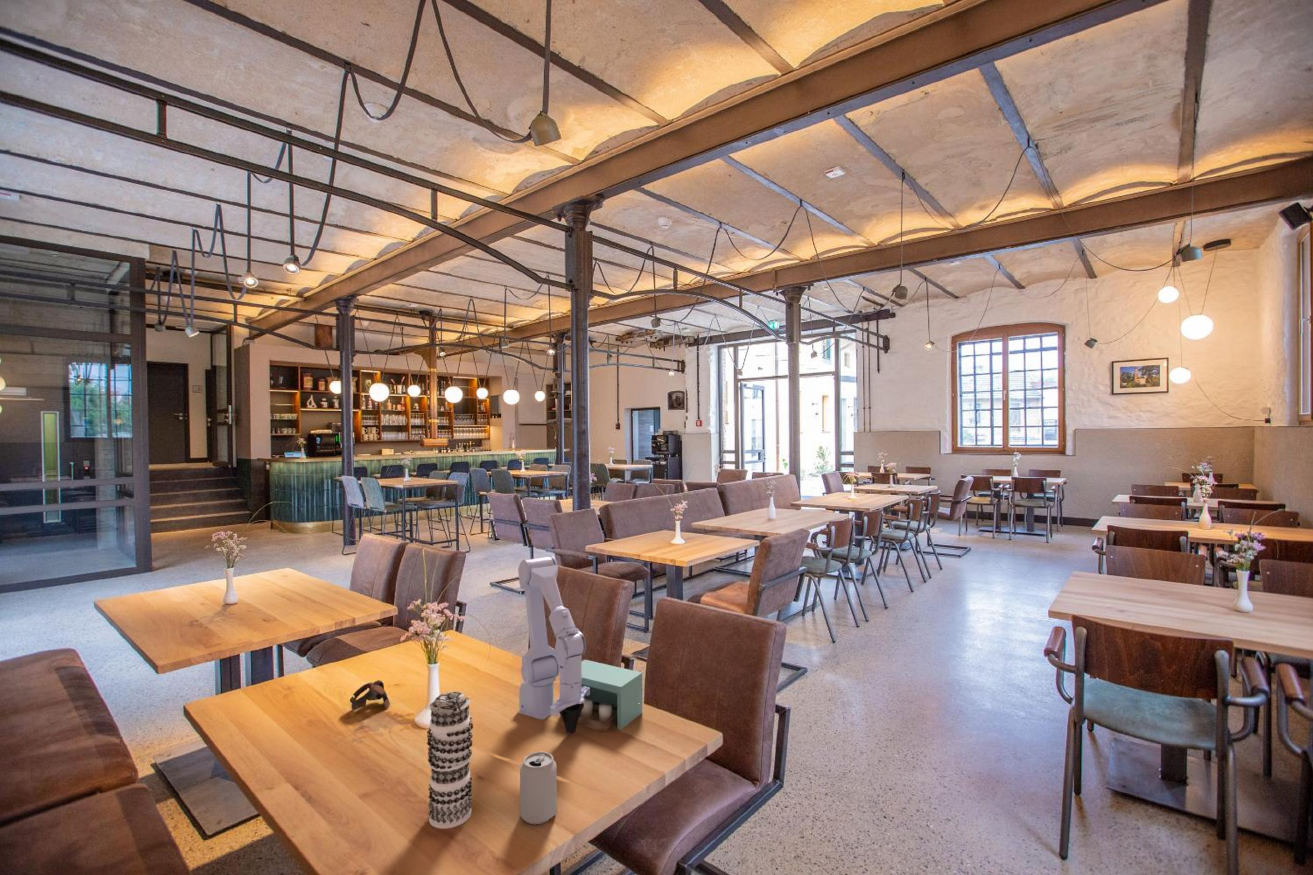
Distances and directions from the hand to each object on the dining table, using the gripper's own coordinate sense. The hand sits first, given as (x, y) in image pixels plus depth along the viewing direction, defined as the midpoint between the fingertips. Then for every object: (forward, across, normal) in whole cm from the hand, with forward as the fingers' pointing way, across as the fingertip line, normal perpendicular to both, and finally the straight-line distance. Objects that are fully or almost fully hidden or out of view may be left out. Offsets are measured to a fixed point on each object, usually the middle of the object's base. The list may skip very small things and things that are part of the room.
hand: (570, 731), depth 158 cm
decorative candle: (+2, -38, +2) cm, 38 cm away
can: (+2, -29, -14) cm, 32 cm away
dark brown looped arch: (+2, -14, +61) cm, 63 cm away
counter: (+1, +14, 0) cm, 14 cm away
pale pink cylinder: (+1, +11, -3) cm, 12 cm away
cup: (+1, +11, +3) cm, 12 cm away
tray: (+1, +10, 0) cm, 10 cm away
